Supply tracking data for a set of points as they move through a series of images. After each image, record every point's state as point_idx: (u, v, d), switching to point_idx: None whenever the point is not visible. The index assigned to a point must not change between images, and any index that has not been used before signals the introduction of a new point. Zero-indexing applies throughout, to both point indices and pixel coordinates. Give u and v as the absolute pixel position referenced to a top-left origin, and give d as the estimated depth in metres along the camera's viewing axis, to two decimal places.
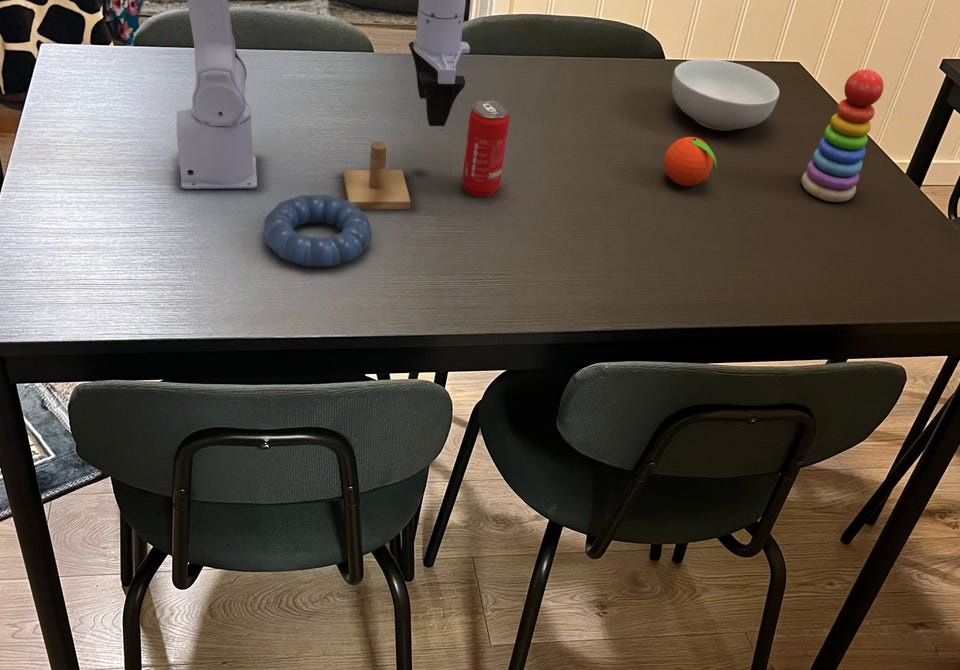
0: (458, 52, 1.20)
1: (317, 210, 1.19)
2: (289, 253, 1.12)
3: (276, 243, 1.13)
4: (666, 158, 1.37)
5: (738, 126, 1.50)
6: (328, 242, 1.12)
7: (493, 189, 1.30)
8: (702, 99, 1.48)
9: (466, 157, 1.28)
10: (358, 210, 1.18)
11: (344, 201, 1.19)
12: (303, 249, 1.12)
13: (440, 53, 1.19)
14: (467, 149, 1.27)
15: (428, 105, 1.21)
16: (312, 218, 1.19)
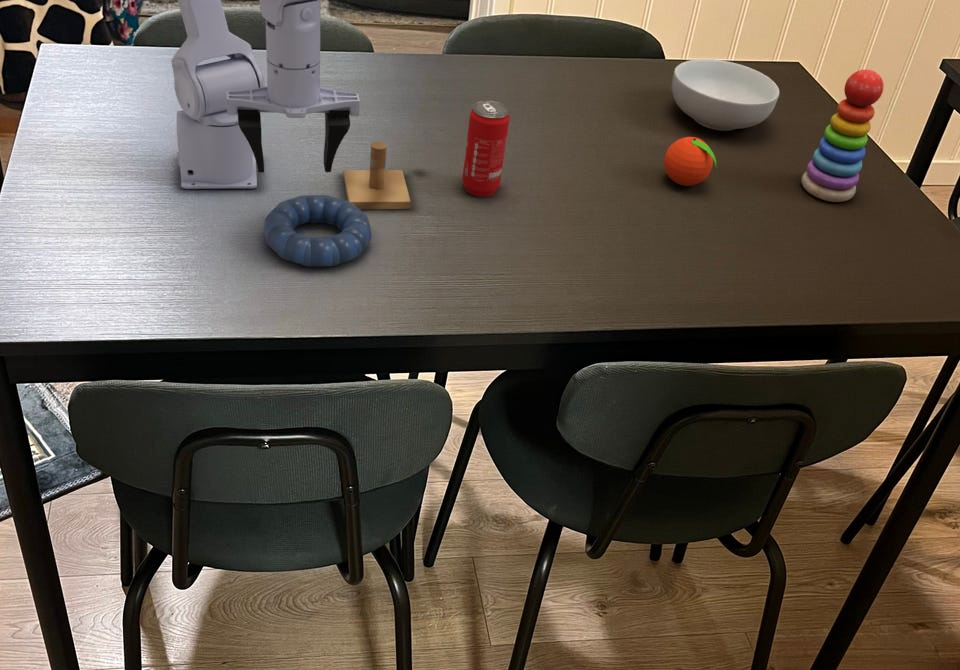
0: (273, 104, 1.05)
1: (317, 210, 1.19)
2: (289, 253, 1.12)
3: (276, 243, 1.13)
4: (666, 158, 1.37)
5: (738, 126, 1.50)
6: (328, 242, 1.12)
7: (493, 189, 1.30)
8: (702, 99, 1.48)
9: (466, 157, 1.28)
10: (358, 210, 1.18)
11: (344, 201, 1.19)
12: (303, 249, 1.12)
13: (267, 94, 1.06)
14: (467, 149, 1.27)
15: None
16: (312, 218, 1.19)
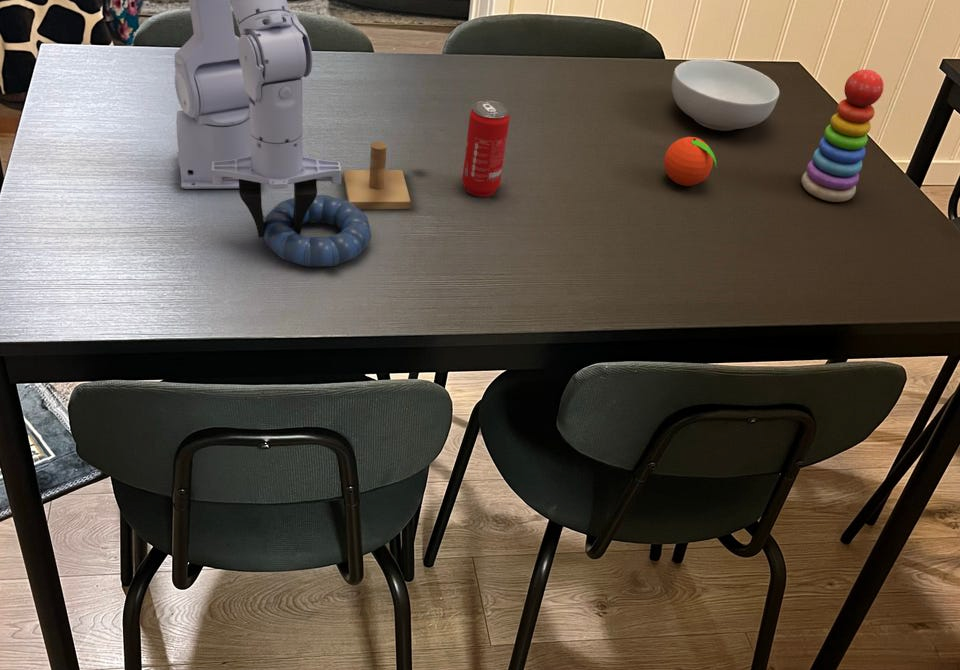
0: (257, 175, 1.08)
1: (316, 210, 1.19)
2: (288, 253, 1.12)
3: (275, 243, 1.13)
4: (666, 158, 1.37)
5: (738, 126, 1.50)
6: (328, 242, 1.12)
7: (493, 189, 1.30)
8: (702, 99, 1.48)
9: (466, 157, 1.28)
10: (357, 210, 1.18)
11: (343, 201, 1.19)
12: (302, 249, 1.12)
13: (251, 164, 1.10)
14: (467, 149, 1.27)
15: None
16: (312, 218, 1.19)
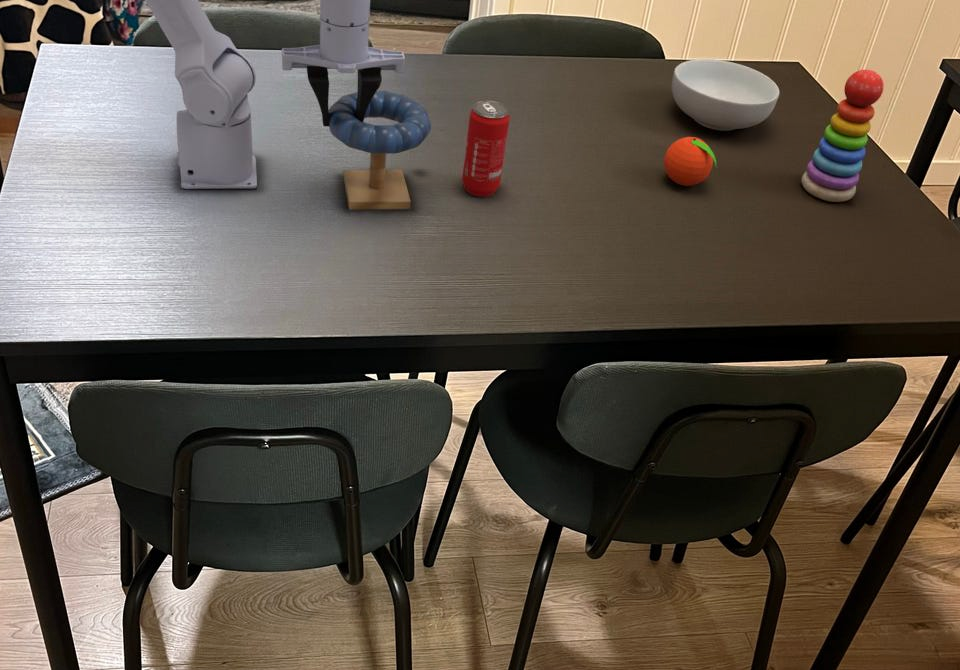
0: (326, 60, 1.12)
1: (377, 104, 1.23)
2: (354, 139, 1.16)
3: (341, 130, 1.17)
4: (666, 158, 1.37)
5: (738, 126, 1.50)
6: (392, 129, 1.17)
7: (493, 189, 1.30)
8: (702, 99, 1.48)
9: (466, 157, 1.28)
10: (417, 104, 1.23)
11: (403, 96, 1.24)
12: (368, 135, 1.16)
13: (319, 51, 1.14)
14: (467, 149, 1.27)
15: None
16: (372, 112, 1.24)
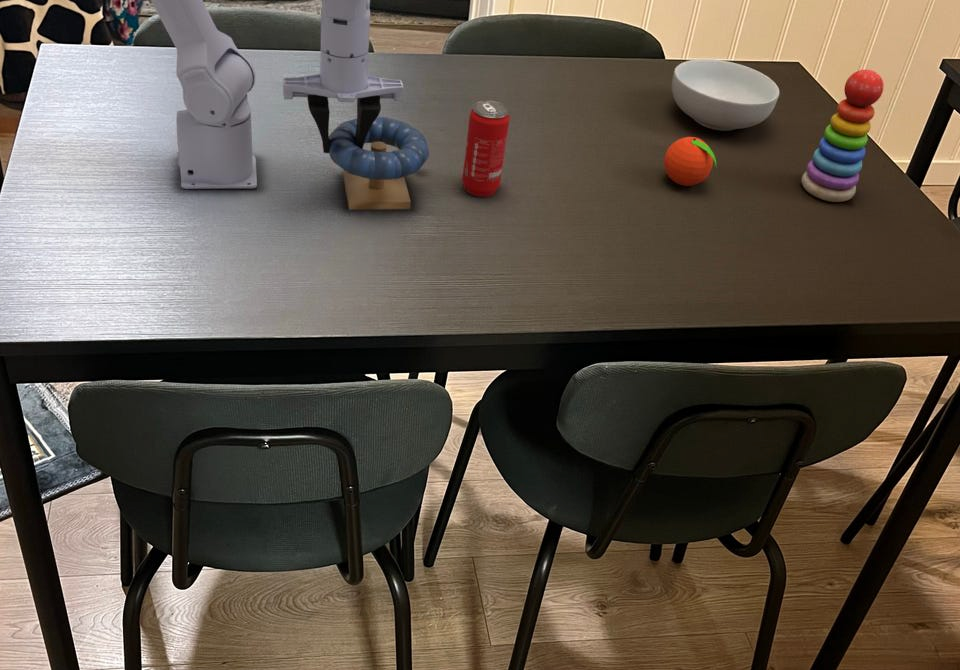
0: (326, 90, 1.15)
1: (376, 130, 1.26)
2: (354, 166, 1.19)
3: (341, 157, 1.19)
4: (666, 158, 1.37)
5: (738, 126, 1.50)
6: (391, 156, 1.19)
7: (493, 189, 1.30)
8: (702, 99, 1.48)
9: (466, 157, 1.28)
10: (415, 130, 1.25)
11: (402, 122, 1.26)
12: (368, 162, 1.18)
13: (320, 81, 1.17)
14: (467, 149, 1.27)
15: None
16: (372, 138, 1.26)
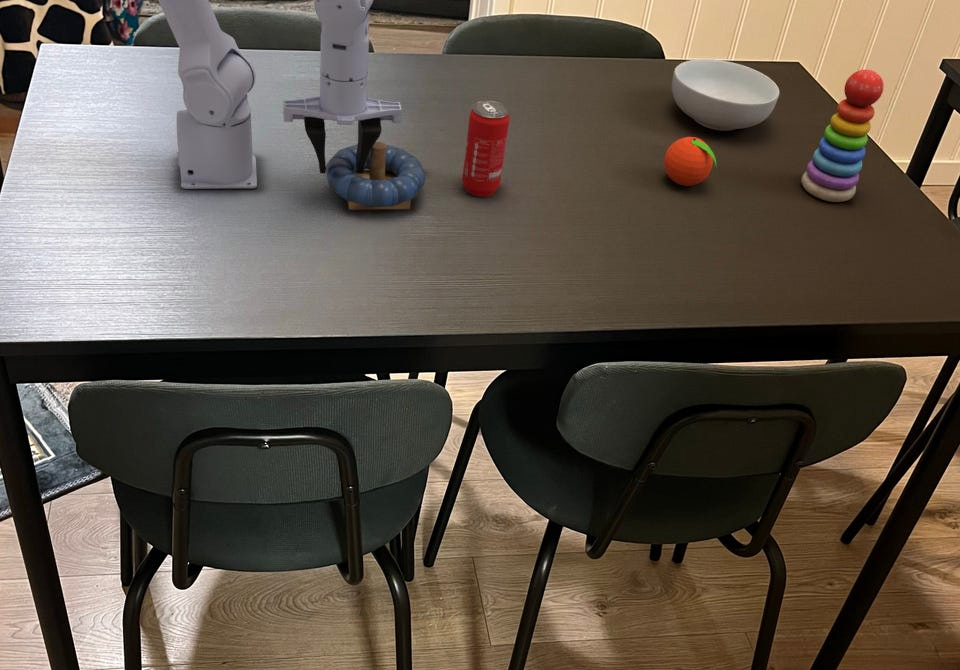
0: (325, 113, 1.17)
1: None
2: (352, 194, 1.21)
3: (339, 185, 1.22)
4: (666, 158, 1.37)
5: (738, 126, 1.50)
6: (388, 184, 1.22)
7: (493, 189, 1.30)
8: (702, 99, 1.48)
9: (466, 157, 1.28)
10: (412, 156, 1.28)
11: (398, 149, 1.29)
12: (365, 190, 1.21)
13: (319, 103, 1.18)
14: (467, 149, 1.27)
15: None
16: (369, 165, 1.29)
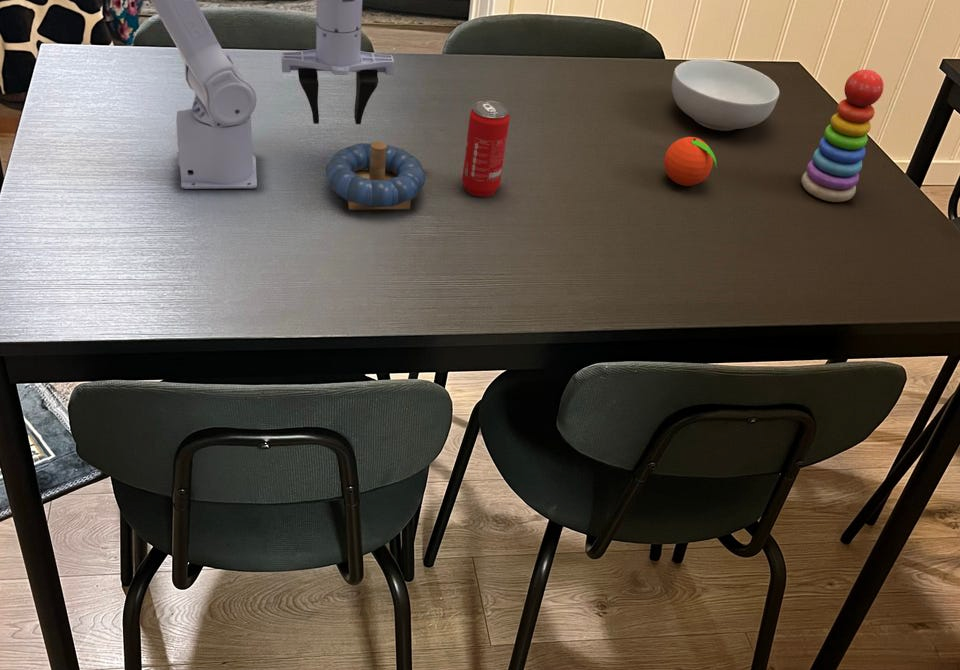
0: (321, 63, 1.23)
1: None
2: (352, 194, 1.21)
3: (339, 185, 1.22)
4: (666, 158, 1.37)
5: (738, 126, 1.50)
6: (388, 184, 1.22)
7: (493, 189, 1.30)
8: (702, 99, 1.48)
9: (466, 157, 1.28)
10: (412, 156, 1.28)
11: (398, 149, 1.29)
12: (365, 190, 1.21)
13: (316, 55, 1.25)
14: (467, 149, 1.27)
15: None
16: (369, 165, 1.29)
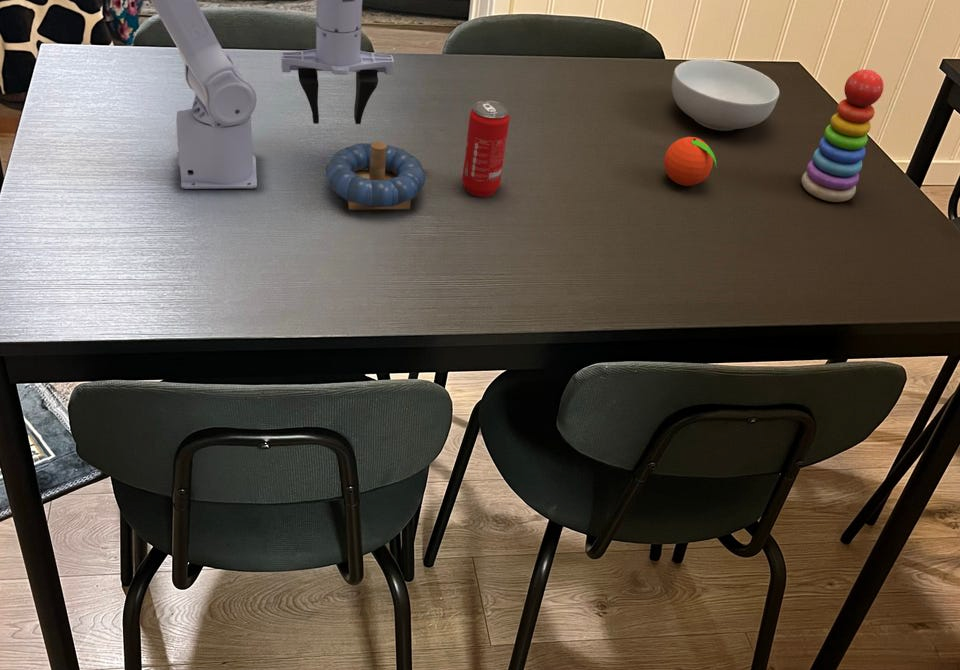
0: (321, 63, 1.23)
1: None
2: (352, 194, 1.21)
3: (339, 185, 1.22)
4: (666, 158, 1.37)
5: (738, 126, 1.50)
6: (388, 184, 1.22)
7: (493, 189, 1.30)
8: (702, 99, 1.48)
9: (466, 157, 1.28)
10: (412, 156, 1.28)
11: (398, 149, 1.29)
12: (365, 190, 1.21)
13: (316, 55, 1.25)
14: (467, 149, 1.27)
15: None
16: (369, 165, 1.29)
